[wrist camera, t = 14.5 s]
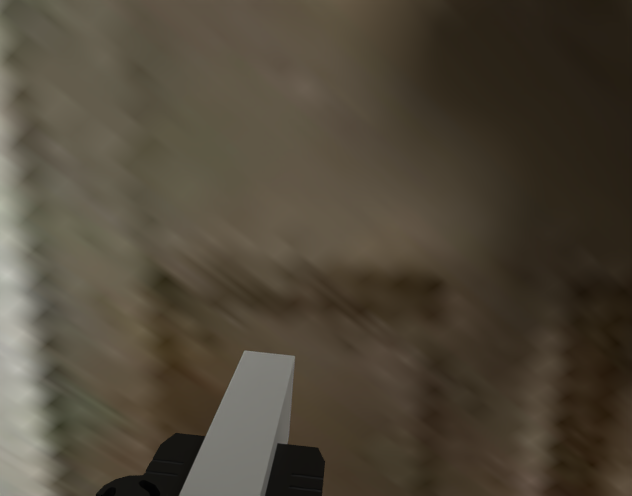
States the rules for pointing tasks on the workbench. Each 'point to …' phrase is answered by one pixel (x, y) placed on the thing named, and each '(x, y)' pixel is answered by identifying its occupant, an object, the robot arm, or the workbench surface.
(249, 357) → the robot arm
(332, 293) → the workbench surface
